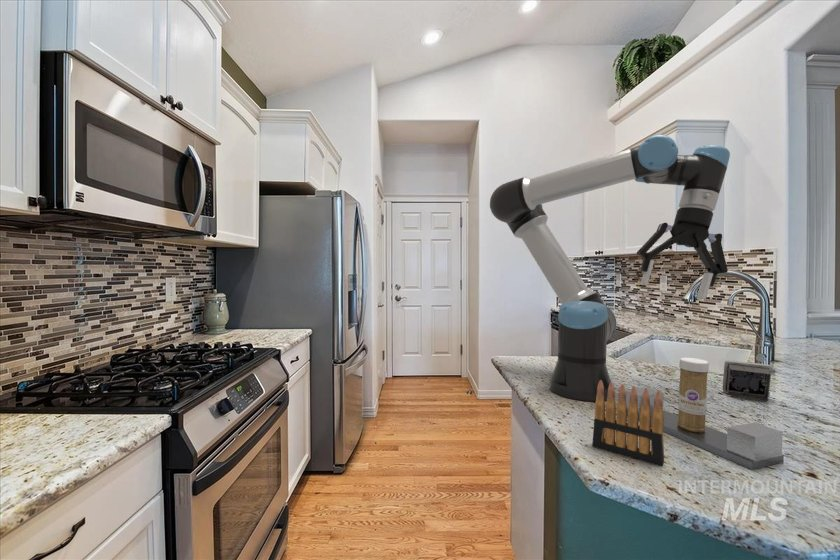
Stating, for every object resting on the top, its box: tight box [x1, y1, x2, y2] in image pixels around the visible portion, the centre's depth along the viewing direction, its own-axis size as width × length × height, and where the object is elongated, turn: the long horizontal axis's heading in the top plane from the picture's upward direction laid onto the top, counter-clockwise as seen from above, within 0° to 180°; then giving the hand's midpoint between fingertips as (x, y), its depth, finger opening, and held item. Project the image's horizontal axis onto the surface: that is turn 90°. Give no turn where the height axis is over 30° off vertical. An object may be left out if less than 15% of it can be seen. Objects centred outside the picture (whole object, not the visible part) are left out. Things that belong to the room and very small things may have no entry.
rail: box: [625, 387, 785, 470], centre depth 73 cm, size 25×8×5 cm, turn 19°
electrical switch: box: [722, 359, 773, 402], centre depth 96 cm, size 9×5×9 cm, turn 57°
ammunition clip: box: [591, 380, 665, 467], centre depth 65 cm, size 11×2×12 cm, turn 52°
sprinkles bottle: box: [677, 357, 710, 432], centre depth 73 cm, size 5×5×13 cm
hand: (672, 291), depth 96 cm, fingers open, 13 cm apart
